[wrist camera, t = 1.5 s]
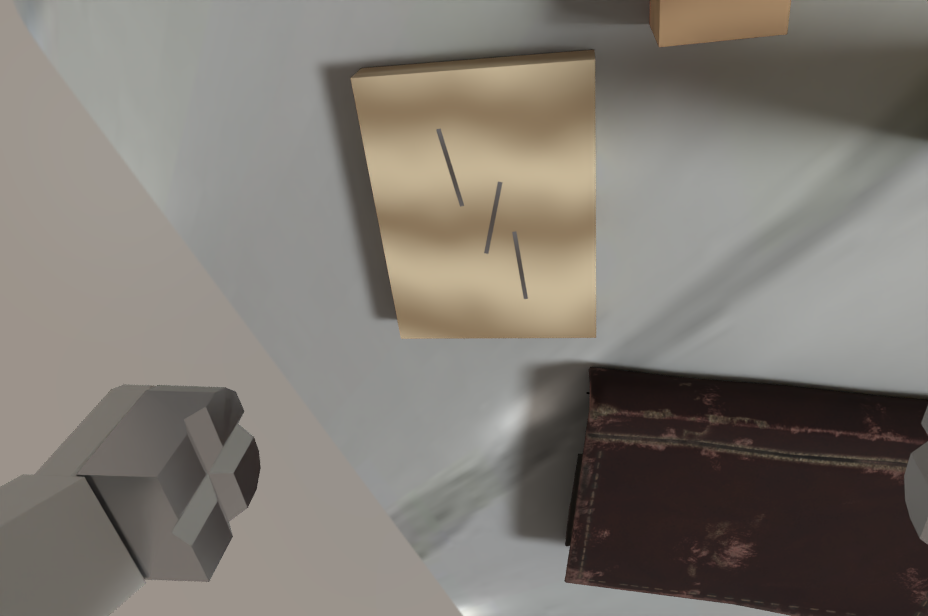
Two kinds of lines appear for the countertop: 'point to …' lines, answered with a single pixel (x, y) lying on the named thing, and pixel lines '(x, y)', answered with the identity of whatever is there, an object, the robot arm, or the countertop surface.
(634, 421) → the diary
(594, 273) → the pine board
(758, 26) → the block
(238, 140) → the countertop surface
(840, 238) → the countertop surface
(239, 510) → the robot arm
